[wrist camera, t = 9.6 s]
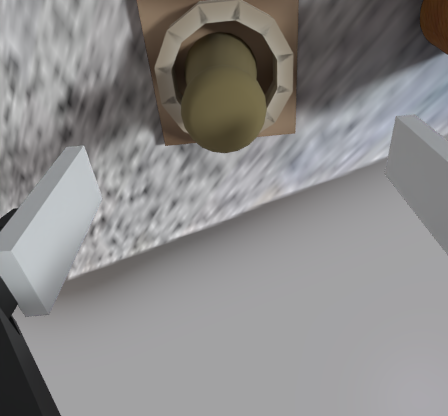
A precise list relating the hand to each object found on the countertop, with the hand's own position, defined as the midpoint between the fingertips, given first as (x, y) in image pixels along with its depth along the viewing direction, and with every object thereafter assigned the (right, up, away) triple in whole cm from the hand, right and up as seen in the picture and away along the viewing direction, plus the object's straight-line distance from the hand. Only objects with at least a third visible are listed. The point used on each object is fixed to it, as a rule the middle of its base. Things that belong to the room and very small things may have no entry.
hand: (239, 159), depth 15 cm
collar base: (-1, +10, +15) cm, 18 cm away
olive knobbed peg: (-1, +9, +14) cm, 17 cm away
